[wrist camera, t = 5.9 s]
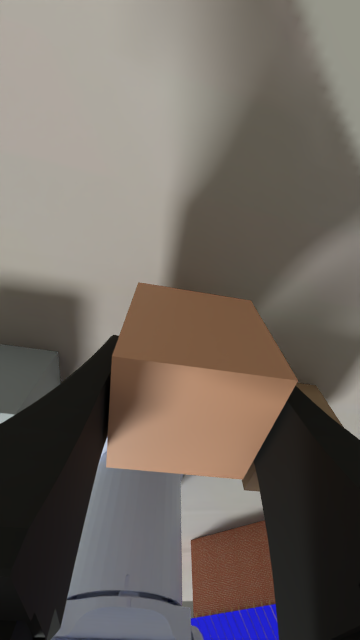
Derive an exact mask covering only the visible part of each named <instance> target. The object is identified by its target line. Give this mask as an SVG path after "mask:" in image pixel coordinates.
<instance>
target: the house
mask: <svg viewBox="0 0 360 640" xmlns="http://www.w3.org/2000/svg"><path fill="white" fill-rule="evenodd" d="M191 557H192V584H193V612H194V618H192V619H191V625H192V626H196V627H197V628H198V629H199V631H200V633H201V634H202V637H203V639H204V640H279V635H278V623H277V613H276V603H275V594H274V584H273V575H272V567H271V560H270V552H269V545H268V537H267V531H266V524H265V520H264V521H260V522H257V523H253V524H249V525H246V526H242V527H238V528H234V529H231V530H227V531H223V532H220V533H216V534H212V535H209V536H205V537H201V538H197V539H194V540H191Z"/></svg>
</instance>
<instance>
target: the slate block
mask: <svg viewBox="0 0 360 640" xmlns="http://www.w3.org/2000/svg"><path fill="white" fill-rule="evenodd" d="M59 384H61V381H60V369H59V357H58V352H57V351H49V350H42V349H34V348H26V347H19V346H11V345H3V344H0V424H1V423H2V422H4V421H6V420H7V419H9V418H11V417H12V416H14V415H16V414H17V413H19V412H20V411H22V410H23V409H25V408H26V407H28V406H30V405H31V404H33V403H34V402H36V401H37V400H39V399H40V398H42V397H43V396H44V395H46V394H47V393H49V392H50V391H51V390H53V389H54V388H55V387H57V386H58V385H59Z"/></svg>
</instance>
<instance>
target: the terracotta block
mask: <svg viewBox="0 0 360 640" xmlns="http://www.w3.org/2000/svg"><path fill="white" fill-rule="evenodd" d="M297 382H298V380H297V378H296V376H295V375H294V373H293V371H292V369H291V368H290V366H289V364H288V363H287V361H286V359H285V358H284V356H283V354H282V352H281V351H280V349H279V347H278V346H277V344H276V342H275V341H274V339H273V337H272V335H271V334H270V332H269V330H268V329H267V327H266V325H265V324H264V322H263V320H262V318H261V317H260V315H259V313H258V312H257V310H256V308H255V307H254V305H253V303H252V302H251V300H244V299H238V298H232V297H226V296H220V295H213V294H207V293H201V292H195V291H189V290H183V289H176V288H170V287H164V286H158V285H152V284H145V283H139V282H138V285H137V288H136V291H135V294H134V296H133V299H132V302H131V305H130V307H129V310H128V313H127V316H126V319H125V321H124V324H123V327H122V330H121V332H120V335H119V338H118V341H117V344H116V346H115V349H114V352H113V355H112V365H111V383H110V402H109V421H108V440H107V459H106V467H108V468H119V469H130V470H142V471H153V472H164V473H175V474H187V475H198V476H209V477H220V478H232V479H243V478H244V476H245V475H246V473H247V471H248V469H249V468H250V466H251V464H252V462H253V460H254V459H255V457H256V455H257V453H258V451H259V450H260V448H261V446H262V444H263V443H264V441H265V439H266V437H267V435H268V434H269V432H270V430H271V428H272V426H273V425H274V423H275V421H276V419H277V418H278V416H279V414H280V412H281V410H282V409H283V407H284V405H285V403H286V401H287V400H288V398H289V396H290V394H291V393H292V391H293V389H294V387H295V385H296V384H297Z"/></svg>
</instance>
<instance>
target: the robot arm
mask: <svg viewBox="0 0 360 640" xmlns="http://www.w3.org/2000/svg"><path fill="white" fill-rule="evenodd" d="M118 338H119V336H117V335H113V336H111V337H110V338H109V339H108V340H107V342H106V343H105V344H104V345H103V346H102V347H101V348H100V349H99V350H98V351H97V352H96V353H95V354H94V355H93V356H92V357H91V358H90V359H89V360H88V361H86V362H85V363H84V364H83V365H82V366H81V367H80V368H79V369H78V370H76V371H75V372H74V373H73V374H72V375H70V376H69V377H68V378H67V379H66V380H64V381H63V382H62V383H61V384H59V385H58V386H57V387H55V388H54V389H53V390H51V391H50V392H49V393H47V394H46V395H44V396H43V397H42V398H40V399H39V400H37V401H36V402H34V403H33V404H31V405H30V406H28V407H26V408H25V409H23V410H22V411H20V412H19V413H17V414H16V415H14V416H12V417H11V418H9V419H7V420H6V421H4V422H2V423H1V424H0V640H204V639H203V637H202V634H201V633H200V631H199V629H198V628H197V627H196V626H191V610H190V608H189V607H182V554H181V481H182V478H183V475H184V474H175V473H164V472H153V471H142V470H130V469H119V468H108V467H106V459H107V440H108V421H109V402H110V383H111V365H112V355H113V352H114V349H115V346H116V344H117V341H118ZM253 462H254V465H255V469H256V474H257V478H258V483H259V489H260V494H261V500H262V505H263V511H264V518H265V524H266V531H267V537H268V545H269V552H270V560H271V567H272V575H273V584H274V594H275V603H276V613H277V623H278V635H279V640H360V440H359V439H358V438H357V437H355V436H354V435H353V434H351V433H350V432H349V431H347V430H346V429H345V428H344V427H342V426H341V425H340V424H338V423H337V422H336V421H335V420H334V419H332V418H331V417H330V416H329V415H328V414H326V413H325V412H324V411H323V410H322V409H321V408H320V407H318V406H317V405H316V404H315V403H314V402H313V401H312V400H311V399H310V398H308V397H307V396H306V395H305V394H304V393H303V392H302V391H301V390H300V389H299V388H298V387H297V386H296V385H295V387H294V389H293V391H292V393H291V394H290V396H289V398H288V400H287V401H286V403H285V405H284V407H283V409H282V410H281V412H280V414H279V416H278V418H277V419H276V421H275V423H274V425H273V426H272V428H271V430H270V432H269V434H268V435H267V437H266V439H265V441H264V443H263V444H262V446H261V448H260V450H259V451H258V453H257V455H256V457H255V459H254V460H253Z"/></svg>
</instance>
